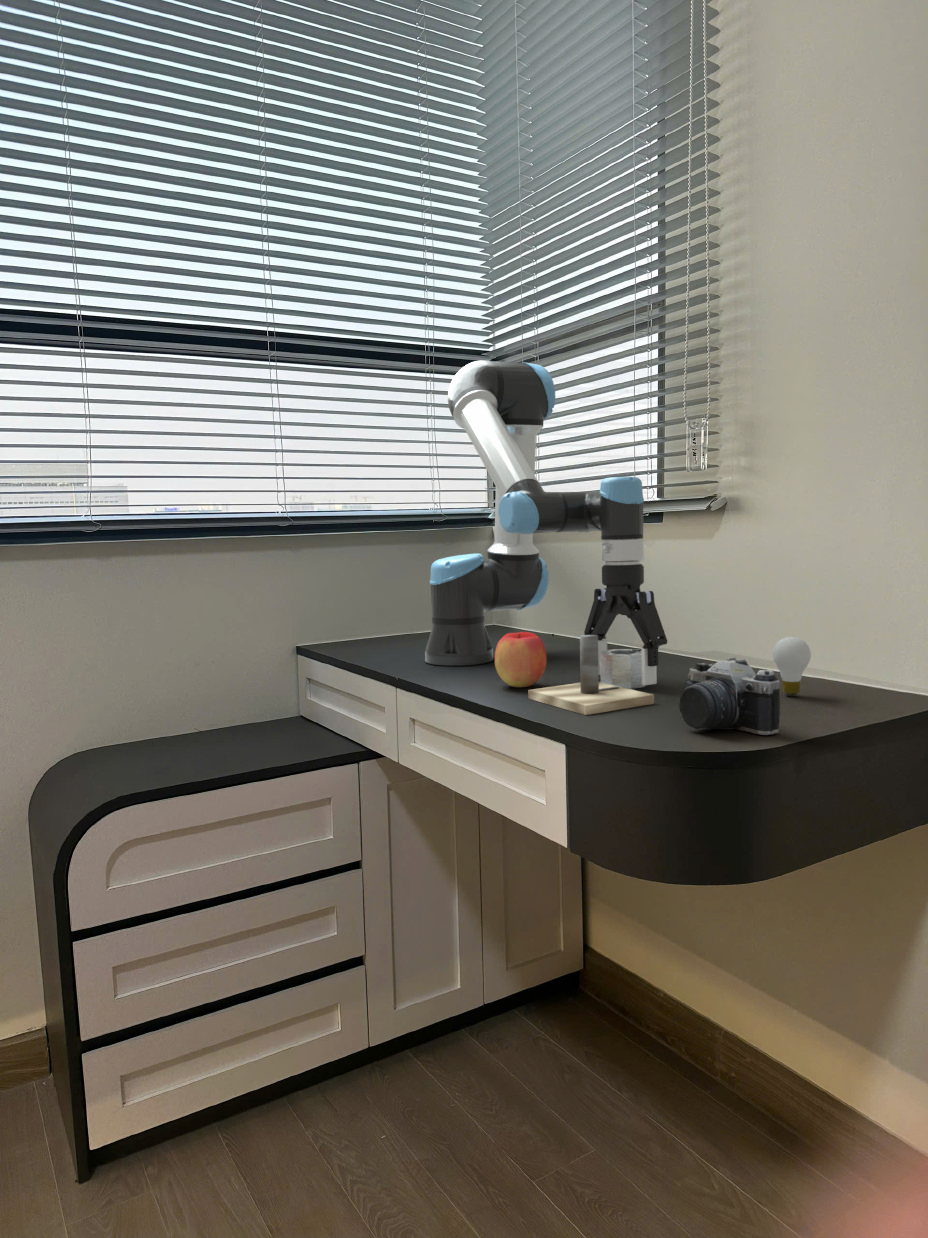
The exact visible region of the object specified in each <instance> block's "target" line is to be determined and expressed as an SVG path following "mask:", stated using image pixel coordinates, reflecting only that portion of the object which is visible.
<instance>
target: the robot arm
mask: <svg viewBox="0 0 928 1238" xmlns="http://www.w3.org/2000/svg"><path fill="white" fill-rule="evenodd" d="M447 404H448V409H449V412H450V415H451V417H452V418H453V421H454V422H455V424H456V426H458V427H460V428H462V429H463V430H465V432H466V434H467V435H468V438H469V440H470V441H471V443H472V445H473V447H474V449H475V450H476V452H477V454H478V456H479V458H480V460H481V462H482V464H483V465H484V467H485V469H486V471H487V473H488V475H489V477H490V478H491V480H492V482H493V483H494V485H495V486H494V487H495V501H494V502H495V506H494V509H495V510H494V512H495V513H494V542H493V544H492V545H490V547H489V548H487V559H485V558H484V556H483V554H481V553H468V554H467V553H466V554H458V555H454V556H453V555H452V556H447V557H444V558H443V557H442V558H439V559H437V560H435V561H433V563H432V564H431V567H430V579H429V584H430V602H431V603H430V604H431V629H430V630H431V631H430V634H429V638H428V640H427V644H426V647H425V652H424V657H425V658H424V660H425V663H427V664H430V665H435V666H436V665H437V666H471V665H481V664H486V663H489V662H492V661H493V660H494V650H493V646H492V642H491V640H490V637H489V634H488V632H487V628H486V626H485V612H494V611H495V612H496V611H507V610H508V611H509V610H511V611H512V610H516V611H520V610H523V609H529V608H534V607H536V606H538V605H539V604H540V603H541V602H542V600H543V599H544V597H546V594H547V591H548V588H549V581H550V576H549V570H548V569H547V568H548V566H547V562H545V560H544V559H543V558H541V557H540V550H539V549H538V548H537V547H536V546H535V545H534V541H533V540H534V534H546V533H583V532H584V533H589V532H601V536H600V537H601V538H600V539H601V561H602V562H603V563H604V564H603V565H602V567H601V583H602V585H603V586H606V588H603V587H602V588H595V589H594V591H593V593H594V594H593V602H592V606H591V608H590V611H589V614H588V618H587V622H586V625H585V629H584V632H583V633H584V634H583V635H597V636H598V676H601V669H600V653H601V652H602V651H604V650H608V640H607V637H606V635H607V633H608V631H609V629H610V628H611V626H612V624H613V622H614V621H615V619H616V617H617V616H619V615H622V616H626V617H627V619H630V621H631V622H632V625H633V626H634V629H635V630H636V632H637V633H638V636H639V637H640V640H641V642H642V643H643V646H642V647H641V650H642V685H646V686H648V685H649V686H650V685H651V686H652V685H657V681H658V680H657V678H658V677H657V676H658V675H657V672H658V671H657V667H658V665H659V648H660V647H661V646H663V645H667V644H668V638H667V636H666V633H665V631H664V630H665V629H664V627H663V624H662V621H661V618H660V615H659V611H658V610H657V606H656V603H655V593H654V591H652V590H647V591H644V590H643V591H641V585H643V584H644V583H645V566H644V565H643V564H642V563H641V562H643V561H644V560H645V554H644V553H645V551H644V550H645V547H644V545H645V543H644V502H645V498H644V493H643V481H642V480H641V478H639V477H638V476H615V477H606V478H603V479H602V480H601V482H600V487H599V490H594V491H591V490H590V491H545V490H544V489H543V486H542V485H541V483H540V482H539V481H538V479H537V477H536V450H537V449H536V448H537V445H536V444H537V435H538V433H539V432H540V431H541V430H542V429H543V428H544V420H545V419H547V418H549V417H550V416H551V415H552V413H553V409H554V408H555V405H556V389H555V383H554V380H553V378H552V375H551V374H550V373H549V371H548V369H546V367H544V366H542V365H540V364H535V363H529V362H525V361H524V362H514V361H497V360H496V361H493V360H482V359H481V360H475V361H472V362H470V363H468V364H465V366H462V368H461V369H459V370H458V372H456V374H455V375H454V376H453V378H452V380H451V382H450V385H449V388H448V393H447Z"/></svg>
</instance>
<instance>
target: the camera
mask: <svg viewBox="0 0 928 1238" xmlns="http://www.w3.org/2000/svg"><path fill="white" fill-rule="evenodd" d="M780 684H781V683H780V680H779V679H778V678H777V676H776V674H775V672H774V671H773V670H772V669H767V670H766V669H761V670H758V671H757V673H756V672H755V671H754V670H753V668H752V667H751V666H750V665H749V664H748V663H747V660H746V659H745V658H741V659H737V658H736V657H728V658H727V660H719V661H717V662H716V663H706V662H705V663H704V662H702V663H701V662H697V663H696V665H695V666H694V667H693V666H692V667H690V668H689V673H688V674H687V680H686V682H685V684H684V687H685V689H684V690H683V692H681V694H680V696H679V703H678V704H679V706H678V708H679V712H680V714H681V716H682V718H683V722H685V723H686V725H688V726H689V727H690V728H694V729H695V730H698V729H699V730H700V729H706V728H707V729H711V730H738V731H741V732H747V733H752V734H754V735H755V734H756V735H761V736H770V735H772V736H773V735H774V734H779V730H780V719H781V717H780V716H781V713H780V712H781V711H780V710H781V709H780V708H781V706H780V705H781V703H780V702H781V701H780V700H781V699H780V695H781V694H780V690H781V687H780V686H781V685H780Z"/></svg>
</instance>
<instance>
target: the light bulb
mask: <svg viewBox="0 0 928 1238" xmlns="http://www.w3.org/2000/svg"><path fill="white" fill-rule="evenodd" d="M811 657H812V653H811V648H810V646H809V645H808V644H807V643H806V641H804V640H803V639H802V638H800V637H797V636H787V637H783V638H781V639H780V640H779V641H777V643H776V644H775V645H774V647H773V650H772V658H773V661H774V663H775V666H776V667H777V668H778V670H779V674H780V677H781V678H780V679H782V692H783V693H784V694H786V695H787V696H788V697H795V696H796V695H798V694H799V693H800V690H801V689H800V688H801V681H802V676H803V673H804V671H805V670H806V668H807V667H808V665H809V664H810V662H811Z"/></svg>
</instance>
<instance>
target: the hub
mask: <svg viewBox="0 0 928 1238" xmlns="http://www.w3.org/2000/svg"><path fill="white" fill-rule="evenodd" d="M600 669H601V675H600V682H601V683H605V684H609V685H614V686H618V687H622V688H627V689H631V690H635V689H638V688H646V686H647V685H642V648H615V649H614V648H613V649H607V650H604V651H602V652H601V653H600Z"/></svg>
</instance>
